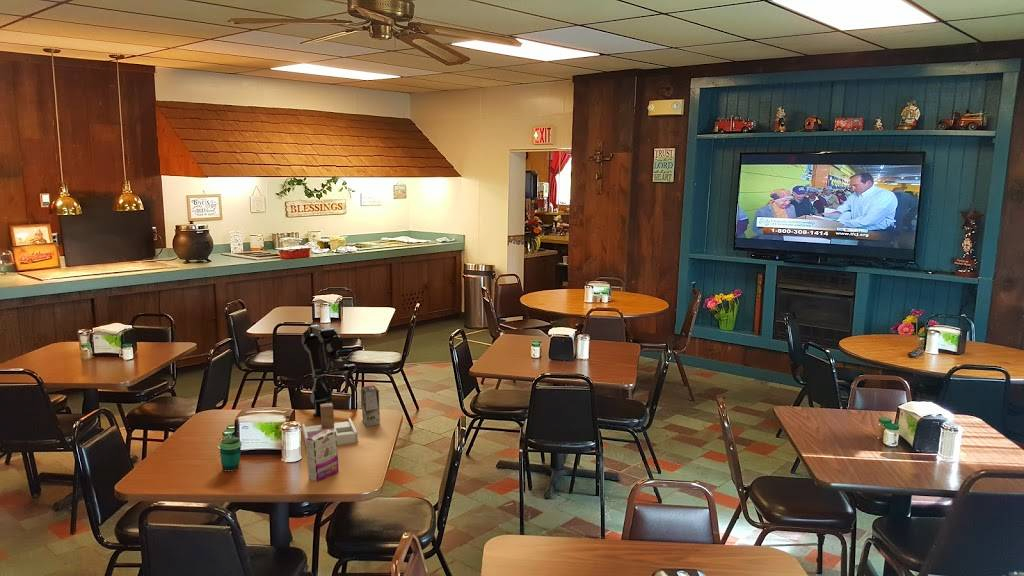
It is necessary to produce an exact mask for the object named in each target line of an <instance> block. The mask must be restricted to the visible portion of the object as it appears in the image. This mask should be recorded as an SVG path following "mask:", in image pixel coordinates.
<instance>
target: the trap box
mask: <svg viewBox="0 0 1024 576" xmlns="http://www.w3.org/2000/svg"><path fill="white" fill-rule="evenodd" d="M301 426H302V427H301V429H302V436H303V439H304V444H305V445H306V438H308V437H310V436H313V435H315V434H317V433H320V432H322V431H324V430H327V429H322V426H321V424H317V425H310V426H306V425H305V423H302V424H301ZM330 430H333V431H336V440H337V446H339V445H340V446H341V445H346V444H347V445H348V444H349V445H350V444H355V443H358V442H359V438H358V431H357V429H356V427H355V424H354V422H353V420H352V419H351V417H348V418H347V421H341V422H334V428H331V429H330Z"/></svg>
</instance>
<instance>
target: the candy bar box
mask: <svg viewBox="0 0 1024 576" xmlns="http://www.w3.org/2000/svg"><path fill="white" fill-rule="evenodd" d="M305 449H306V459H307V472H308V480H309V481H313V482H316V483H318V482H320V481H322V480H324V479H327V478H329V477H331V476H332V475H335V474H336V473H338V472H339V471H340V470H339V457H338V445H337V440H336V431H333V430H330V429H327V430H324V431H322V432H320V433H317V434H315V435H313V436H310V437H308V438H306V444H305Z"/></svg>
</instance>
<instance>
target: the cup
mask: <svg viewBox="0 0 1024 576" xmlns="http://www.w3.org/2000/svg"><path fill="white" fill-rule="evenodd" d="M242 444H243V442H242V441H241V440H240V438H239V437H237V436H231V437H225V438H223V439H222V440H221V441H220V442H219V444H218V447H219V452H220V453H219V454H220V461H221V467H222V471H223V470H227V471H228V470H230V471H231V470H235V469H237V470H238V469H239V465H240V461H241V453H242V446H243V445H242ZM235 471H236V470H235Z"/></svg>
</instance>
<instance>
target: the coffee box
mask: <svg viewBox="0 0 1024 576" xmlns="http://www.w3.org/2000/svg"><path fill="white" fill-rule="evenodd" d="M360 393H361V397H360V398H361V414H362V422H363V423H364V424H365V426H366V427H370V426H376V425H380V424H381V416H380V395H379V394H380V390H379V389H378V388H377V387H376V386H375V385H367V386H361V387H360Z"/></svg>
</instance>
